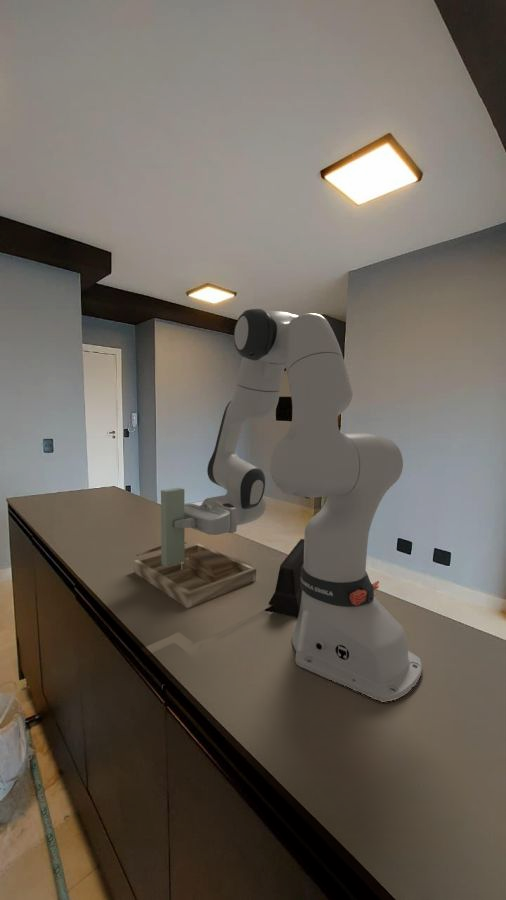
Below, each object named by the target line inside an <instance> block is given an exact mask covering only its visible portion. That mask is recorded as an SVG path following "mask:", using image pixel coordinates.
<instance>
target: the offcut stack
mask: <svg viewBox="0 0 506 900" xmlns="http://www.w3.org/2000/svg"><path fill="white" fill-rule="evenodd" d="M186 568H190V569H191V573H192V574H193V575H195V576H197V577H199V578H201V579H203V580H204V581H206V582H208V583H213V582H215V581H218V580H221V579H224V578H226V577H229V576H232V575H235V574H237V572H235V571H234V565H232V562H231V561H229V560H227V559H225V558H223V557H221V556H219V555H217V554H215V553H213V552H211V551H209V550H204V551H200V552H196V553H192V554H189V557H187V558H185V562H184V563H182V569H186Z"/></svg>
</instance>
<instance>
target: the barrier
mask: <svg viewBox="0 0 506 900" xmlns="http://www.w3.org/2000/svg"><path fill="white" fill-rule="evenodd" d="M303 564H304V538H300V540H299V541H298V542H297V543H296V545H295V546H294V547H293V548H292V550H291V551H290V552H289V553H288V555H287V556H286V558H285V559H284V560H283V561H282V562H281V563H280V566H279V571H278V575H277V579H276V580H277V581H276V584H275V585H276V587H275V590H274V593H273V594H272V596H271V598H270V600H269V602H268V605H271V606H269V607H267V608H265V609H264V611H265V612H269V613H274V614H277V615H283V616H288V617H293V618H297V619H298V615H299V610H300V604H301V595H302V589H301V586H300V578H301V567H302V565H303Z"/></svg>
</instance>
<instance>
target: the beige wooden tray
mask: <svg viewBox="0 0 506 900" xmlns="http://www.w3.org/2000/svg"><path fill="white" fill-rule="evenodd" d="M204 550H209V551H211V552H213V553H215V554H217V555H219V556H221V557H223V558H225V559H227V560H229V561H231V562H232V565H234V571H235V572H237V574H235V575H232V576H229V577H226V578H224V579H221V580H218V581H215V582H213V583H208V582H206V581H204V580H203V579H201V578H199V577H197V576H195V575H193V574H192V573H191V569H190V568H186V569H182V563H184V562H182V563H178V564H175V565H172V566H168V567H166V566H164V565H162V564H161V553H159V554H155V555H151V556H146V557H143V558H139V559H136V560H133V565H134V567H133V569H134V572H133V573H134V574H136V575H137V576H138V577H141V578H142V579H144V580H145V581H147V582H148V583H149V584H150V585H152V586H153V587H156V588H157V589H158V590H160V591H161V592H163V593H164V594H166V595H167V596H168V597H171V598H172V599H173V600H175V601H176V602H178V603H179V604H181V605H182V607H183V606H184V607H185V608H187V609H189V608H192V607H194V606H197V605H199V604H202V603H203V602H206V601H209V600H212V599H215V598H217V597H219V596H222V595H224V594H226V593H229V592H232V591H234V590H237V589H238V588H241V587H244V586H246V585H250V584H252V583H254V582H257V567H256V568H255V567H253V566H250V565H248V564H246V563H244V562H241V561H239V560H237V559H235V558H233V557H230V556H228V555H227V554H224V553H221V552H219V551H217V550H215V549H212V548H211V547H207V546H205V545H203V544H201V543H195V544H193V545H189V546H185V558H187V557H189V554H192V553H196V552H200V551H204Z"/></svg>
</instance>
